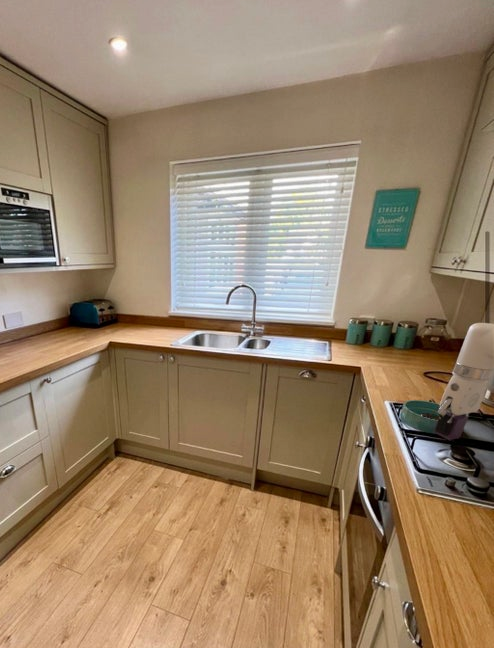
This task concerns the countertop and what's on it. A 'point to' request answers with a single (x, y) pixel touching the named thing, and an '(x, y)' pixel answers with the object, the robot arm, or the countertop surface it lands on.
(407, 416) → the bowl
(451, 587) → the countertop surface
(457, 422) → the snack carton
